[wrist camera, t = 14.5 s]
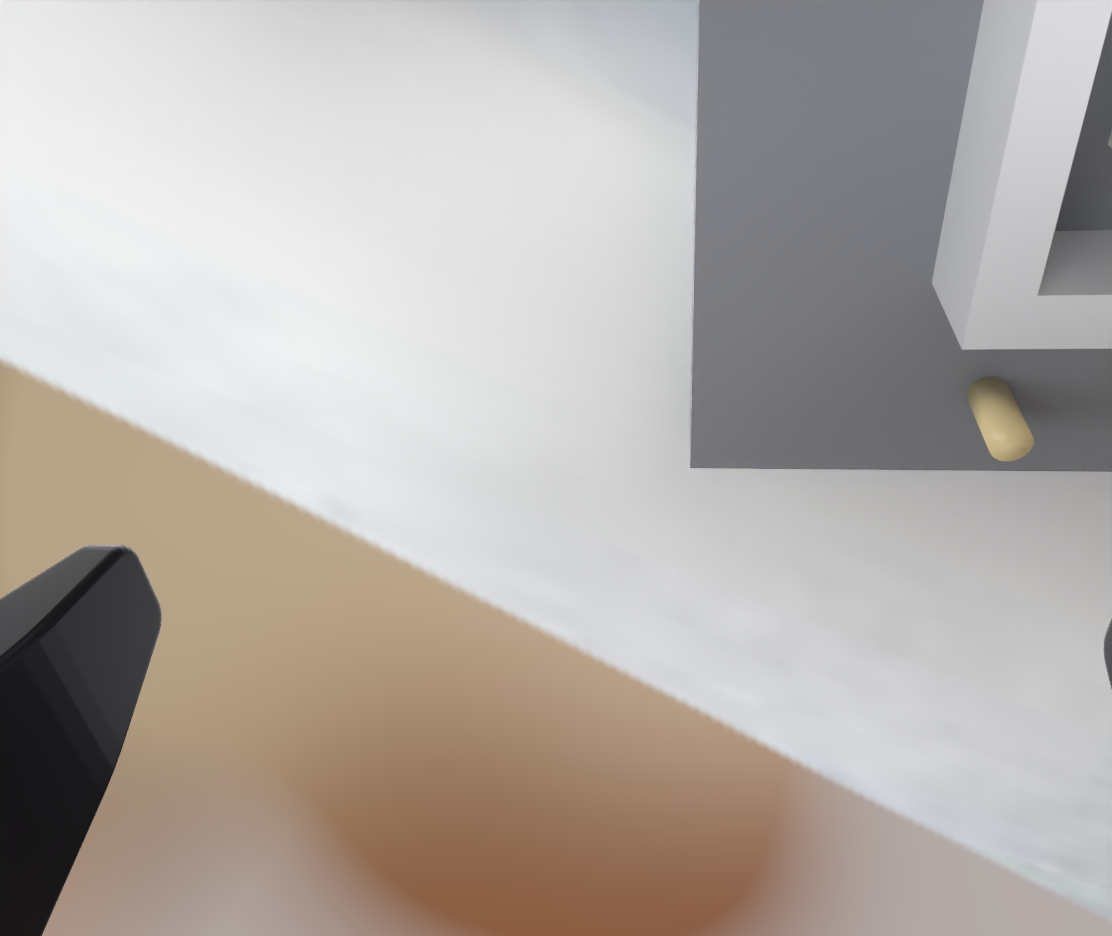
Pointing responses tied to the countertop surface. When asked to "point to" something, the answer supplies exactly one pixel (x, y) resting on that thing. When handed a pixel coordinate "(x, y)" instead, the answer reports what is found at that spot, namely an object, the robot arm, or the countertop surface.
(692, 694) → the countertop surface
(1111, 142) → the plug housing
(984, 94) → the header dock
